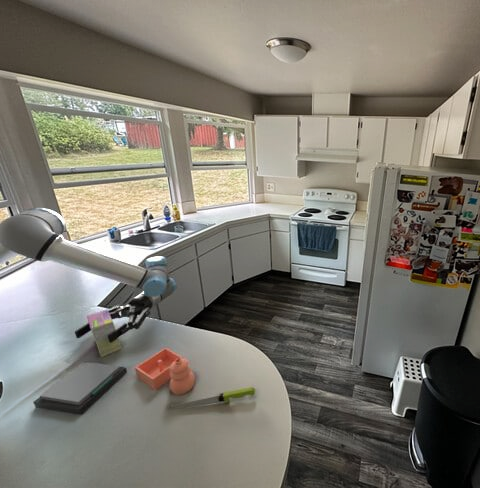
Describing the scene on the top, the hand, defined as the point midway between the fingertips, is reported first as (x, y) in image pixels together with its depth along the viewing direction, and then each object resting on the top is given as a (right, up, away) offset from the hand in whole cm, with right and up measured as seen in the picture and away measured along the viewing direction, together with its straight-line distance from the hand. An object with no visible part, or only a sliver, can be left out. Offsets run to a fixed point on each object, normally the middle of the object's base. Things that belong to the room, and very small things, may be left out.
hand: (92, 337), depth 83 cm
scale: (+7, -11, -10) cm, 17 cm away
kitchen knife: (+47, -14, -13) cm, 50 cm away
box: (0, -6, +6) cm, 8 cm away
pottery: (+30, -11, -6) cm, 32 cm away
